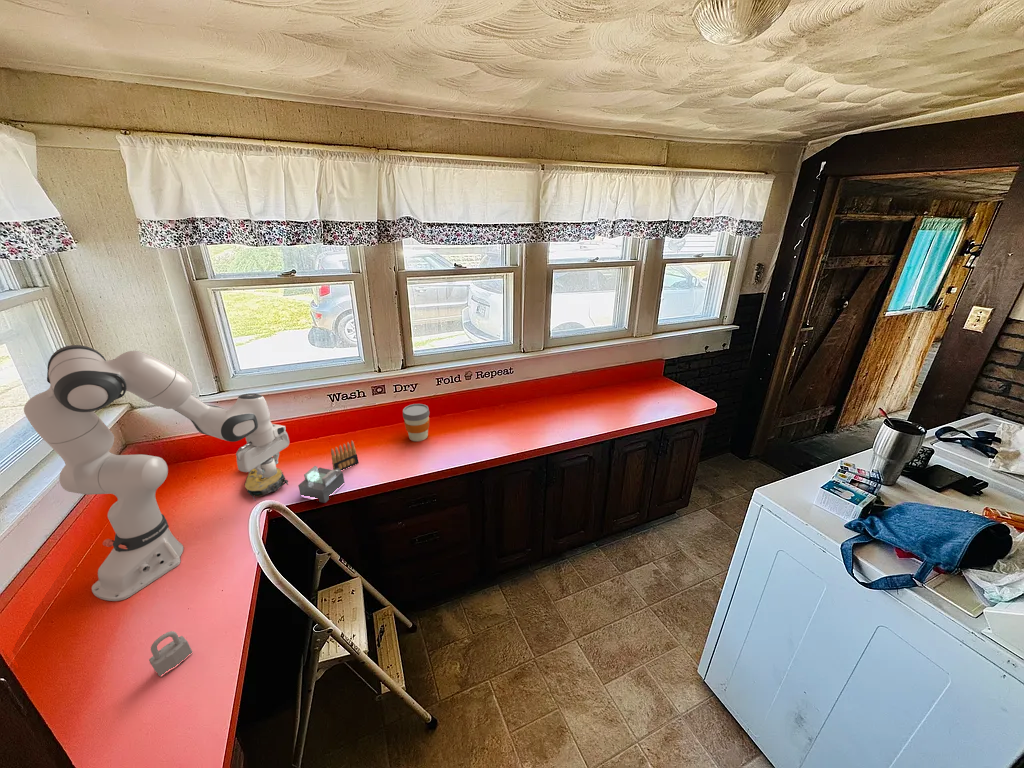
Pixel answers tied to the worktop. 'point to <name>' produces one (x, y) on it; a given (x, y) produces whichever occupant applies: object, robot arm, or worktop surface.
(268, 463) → the white domed cylinder
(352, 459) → the ammunition clip
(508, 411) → the worktop surface
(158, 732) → the worktop surface
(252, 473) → the pulley block
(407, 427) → the reusable coffee cup
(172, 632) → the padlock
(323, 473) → the motor
